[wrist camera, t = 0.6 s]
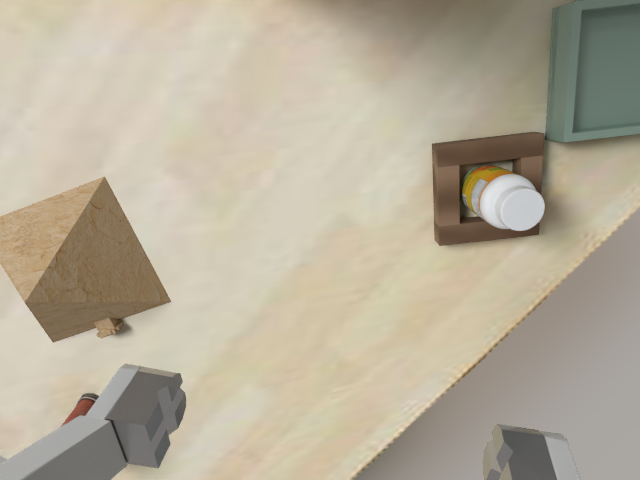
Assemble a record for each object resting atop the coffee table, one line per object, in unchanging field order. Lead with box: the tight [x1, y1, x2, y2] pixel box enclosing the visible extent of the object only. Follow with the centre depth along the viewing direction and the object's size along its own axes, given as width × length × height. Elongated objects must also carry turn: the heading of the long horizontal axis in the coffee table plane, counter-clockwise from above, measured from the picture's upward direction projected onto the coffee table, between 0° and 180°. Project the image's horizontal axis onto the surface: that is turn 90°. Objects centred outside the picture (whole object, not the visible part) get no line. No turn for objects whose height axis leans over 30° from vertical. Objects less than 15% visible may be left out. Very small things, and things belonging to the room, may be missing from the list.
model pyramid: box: [0, 177, 171, 342], centre depth 46 cm, size 17×17×10 cm
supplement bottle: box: [460, 165, 545, 231], centre depth 43 cm, size 5×5×10 cm
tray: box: [546, 0, 640, 143], centre depth 42 cm, size 13×13×4 cm
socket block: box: [432, 132, 544, 246], centre depth 47 cm, size 11×11×2 cm
